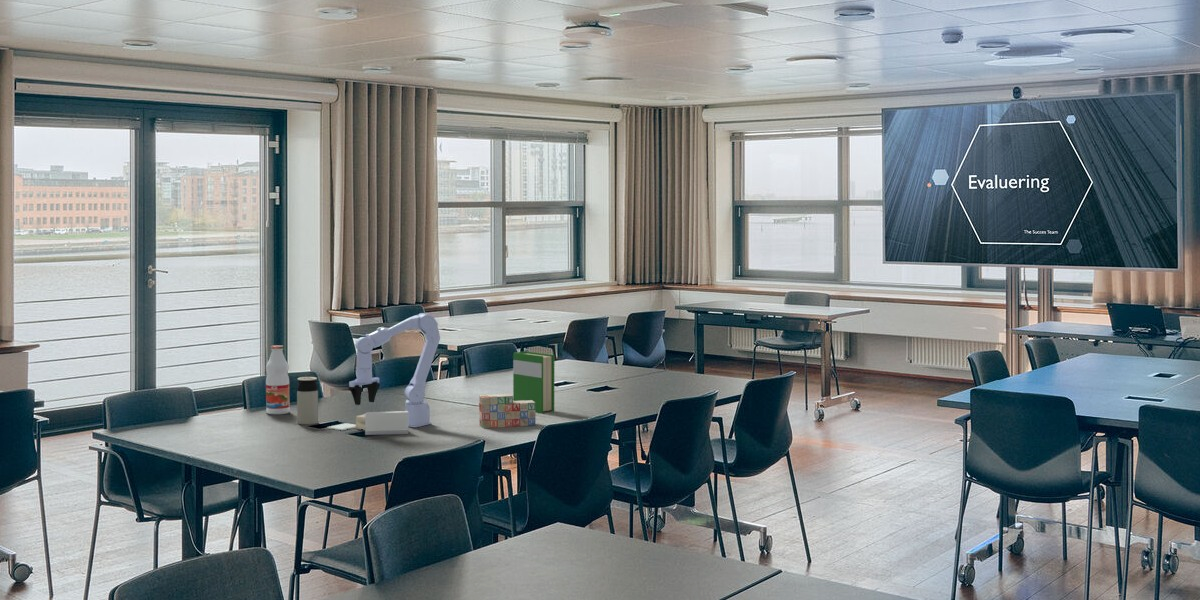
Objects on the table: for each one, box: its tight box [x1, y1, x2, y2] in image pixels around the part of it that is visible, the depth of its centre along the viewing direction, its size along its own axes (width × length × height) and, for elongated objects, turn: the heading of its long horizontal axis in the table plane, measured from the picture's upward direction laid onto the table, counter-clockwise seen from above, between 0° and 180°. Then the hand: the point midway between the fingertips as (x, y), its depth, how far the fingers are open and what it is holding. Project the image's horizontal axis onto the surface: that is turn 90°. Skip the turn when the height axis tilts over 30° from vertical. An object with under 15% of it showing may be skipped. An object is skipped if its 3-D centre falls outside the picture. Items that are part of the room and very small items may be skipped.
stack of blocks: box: [478, 393, 537, 429], centre depth 449 cm, size 21×6×12 cm, turn 106°
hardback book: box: [512, 350, 555, 414], centre depth 484 cm, size 18×7×24 cm, turn 46°
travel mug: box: [296, 376, 319, 426], centre depth 451 cm, size 8×8×18 cm
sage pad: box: [326, 422, 356, 432], centre depth 442 cm, size 10×8×1 cm
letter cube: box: [355, 413, 365, 431], centre depth 441 cm, size 5×5×5 cm
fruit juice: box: [265, 344, 291, 415], centre depth 474 cm, size 9×9×28 cm
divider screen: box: [364, 410, 409, 436], centre depth 431 cm, size 16×5×8 cm, turn 100°
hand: (364, 403), depth 440 cm, fingers open, 7 cm apart
